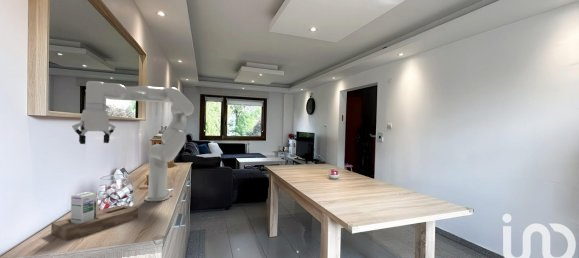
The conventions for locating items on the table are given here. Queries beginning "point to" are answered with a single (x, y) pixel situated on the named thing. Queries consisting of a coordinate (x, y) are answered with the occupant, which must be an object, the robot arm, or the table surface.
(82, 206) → the syrup box
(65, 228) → the socket block
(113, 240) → the table surface
